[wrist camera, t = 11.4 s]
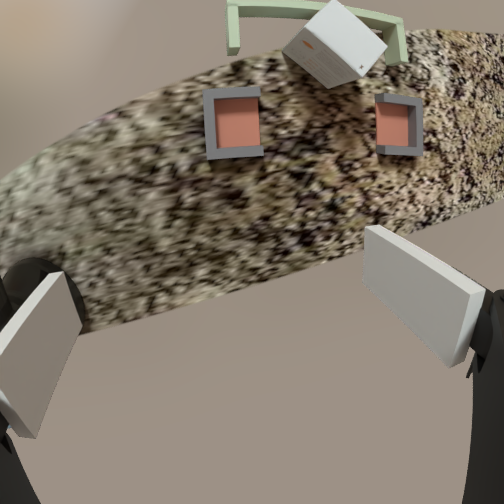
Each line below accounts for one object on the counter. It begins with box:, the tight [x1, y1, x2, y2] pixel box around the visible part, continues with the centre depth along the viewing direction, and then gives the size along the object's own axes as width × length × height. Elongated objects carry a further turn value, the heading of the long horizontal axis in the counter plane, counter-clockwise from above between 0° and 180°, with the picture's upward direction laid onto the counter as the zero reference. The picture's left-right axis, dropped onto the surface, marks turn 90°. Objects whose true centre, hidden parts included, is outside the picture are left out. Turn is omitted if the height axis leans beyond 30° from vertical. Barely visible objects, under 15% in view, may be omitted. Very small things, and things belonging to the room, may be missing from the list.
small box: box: [282, 0, 388, 89], centre depth 30 cm, size 8×6×10 cm
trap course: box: [203, 0, 423, 160], centre depth 34 cm, size 30×20×4 cm
